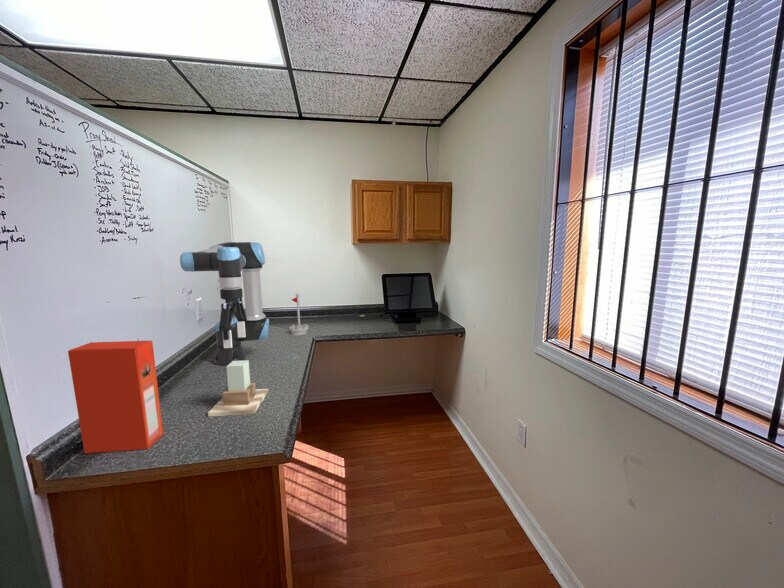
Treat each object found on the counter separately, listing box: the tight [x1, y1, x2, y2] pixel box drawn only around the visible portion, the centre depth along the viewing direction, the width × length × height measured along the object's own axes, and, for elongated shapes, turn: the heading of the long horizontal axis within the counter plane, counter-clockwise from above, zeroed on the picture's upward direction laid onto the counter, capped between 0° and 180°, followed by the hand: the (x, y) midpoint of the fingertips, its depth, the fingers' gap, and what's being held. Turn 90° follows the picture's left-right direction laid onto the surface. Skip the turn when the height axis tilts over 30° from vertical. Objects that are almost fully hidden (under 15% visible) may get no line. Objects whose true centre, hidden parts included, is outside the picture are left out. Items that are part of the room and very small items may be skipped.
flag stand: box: [289, 292, 309, 336], centre depth 223 cm, size 13×13×30 cm
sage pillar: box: [225, 359, 251, 391], centre depth 119 cm, size 6×6×10 cm
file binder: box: [67, 340, 164, 455], centre depth 93 cm, size 8×17×32 cm, turn 97°
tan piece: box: [207, 381, 269, 417], centre depth 120 cm, size 18×16×6 cm
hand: (235, 342), depth 118 cm, fingers open, 13 cm apart
